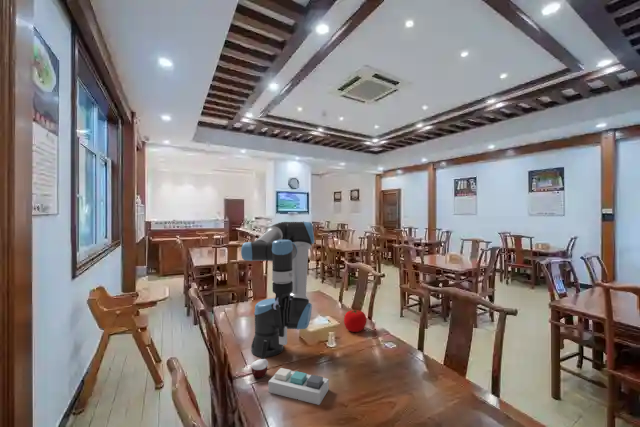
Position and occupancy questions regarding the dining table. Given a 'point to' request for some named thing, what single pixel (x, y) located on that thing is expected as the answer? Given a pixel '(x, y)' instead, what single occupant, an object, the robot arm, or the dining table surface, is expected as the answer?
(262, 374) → the cocoa
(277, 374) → the ivory key
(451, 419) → the dining table surface
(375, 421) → the dining table surface
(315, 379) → the charcoal key
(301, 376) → the teal key
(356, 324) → the red apple
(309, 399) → the console
